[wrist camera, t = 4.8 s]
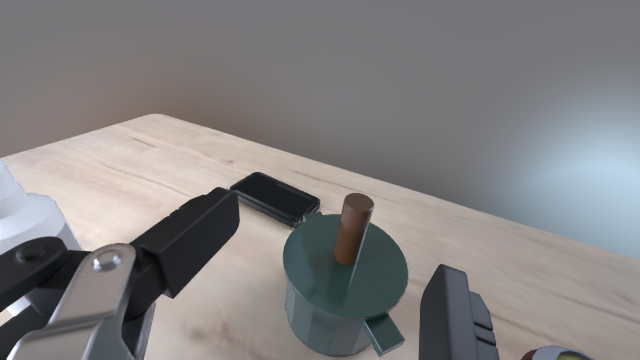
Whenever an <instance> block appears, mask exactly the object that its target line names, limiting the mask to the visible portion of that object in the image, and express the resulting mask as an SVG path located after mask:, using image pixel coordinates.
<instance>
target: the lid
mask: <svg viewBox="0 0 640 360" xmlns="http://www.w3.org/2000/svg"><path fill="white" fill-rule="evenodd" d="M373 208H374V203H373V201H372V199H370V198H369V197H368V196H366V195H363V194H360V193H351V194H349V195H347V196H346V197H345V199H344V204H343V208H342V213H341V215H340V214H330V215H322V216H318V217H314V218H311V219H309V220H307V221H305V222H303V223H302V224H300V225H299V226H298V227H297V228H295V229H294V230H293V232H292V233H291V234H290V235H289V237H288V239H287V241H286V244H285V246H284V251H283V268H284V272H285V276H286V278H287V281H288V283H289V285H290V286H291V288H292V289H293V291H294V292H295V293H296V294H297V296H298V297H299V298H300V299H301V300H302V301H303V302H305V303H306V304H307V305H308V306H310V307H311V308H313V309H314V310H316V311H318V312H320V313H322V314H323V315H326V316H329V317H331V318H334V319H339V320H343V321H366V320H371V319H375V318H378V317H380V316H382V315H384V314H386V313H388V312H389V311H390V310H392V309H393V308H394V307H395V306H396V305H397V304H398V303H399V302H400V300H401V298H402V297H403V295H404V293H405V290H406V287H407V284H408V267H407V263H406V260H405V257H404V255H403V253H402V251H401V249H400V248H399V246H398V245H397V244H396V242H395V241H394V240H393V239H392V238H391V237H390V236H389V235H388V234H387V233H386V232H384V231H383V230H382V229H380V228H379V227H377V226H375V225H374V224H372V223H370V218H371V215H372V212H373Z"/></svg>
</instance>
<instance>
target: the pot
mask: <svg viewBox="0 0 640 360" xmlns="http://www.w3.org/2000/svg"><path fill="white" fill-rule="evenodd" d="M318 216H322V213H321V212H320V211H319V212H314V213H310V214H305V215H303V222H305V221H307V220H309V219H311V218H314V217H318ZM285 310H286V314H287V318H288V321H289V324H290V326H291V328H292V330H293V331H294V333H295V334H296V336H297V337H298V338H299V339H300V340H301V341H302V342H303V343H304V344H305V345H306V346H308V347H309V348H311V349H312V350H314V351H316V352H318V353H321V354H323V355H327V356H333V357H344V356H350V355H353V354H356V353H358V352H360V351H362V350H363V349H365V348H366V347H367V346H368V345H369V344H370V343H372V345H373V347H374V349H375V351H376V352H377V354H378V356H379V357H381V356H382V355H384V354H386V353H388V352H390V351H392V350H394V349H396V348H398V347H400V346H401V345H402V344H403V342H404V341H405V339H404V337H403V336H402V334H401V333H400V331H399V330H398V328H397V327H396V325H395V324H394V322H393V321H392V319H391V318H390V316H389V315H388V313H386V314H384V315H382V316H380V317H378V318H375V319H371V320H366V321H343V320H339V319H334V318H331V317H329V316H326V315H323V314H322V313H320V312H318V311H316V310H314V309H313V308H311V307H310V306H308V305H307V304H306V303H305V302H303V301H302V300H301V299H300V298H299V297H298V296H297V294H296V293H295V292H294V291H293V289H292V288H291V286H290V285H289V283H288V281H287V291H286V304H285Z"/></svg>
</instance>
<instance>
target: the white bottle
mask: <svg viewBox="0 0 640 360" xmlns="http://www.w3.org/2000/svg"><path fill="white" fill-rule="evenodd" d="M46 236H53V237H58V238H60V239H62V240H63V242H64V243H65V245H66V247H67V248H68V250H78V251H84V250H83V248H82V246H81V245H80V243H79V241H78V239H77V238H76V236H75V234H74V232H73V231H72V229H71V227H70V225H69V224H68V222H67V220H66V219H65V217H64V215H63V213H62V212H61V210H60V208H59V206H58V205H57V203H56V201H54V200H53V199H52V198H50V197H49V196H46V195H41V194H36V193H26V192H25V191H24V189H23V188H22V186H21V185H20V183H19V182H17V181H16V179H15V178H14V176H13V175H12V173H11V172H10V170H9V169H8V167H7V165H6V164H5V162H4V161H2V160H1V159H0V255H1V254H3V253H5V252H6V251H8V250H10V249H12V248H14V247H15V246H17V245H19V244H21V243H24V242H26V241H29V240H31V239H35V238H39V237H46ZM29 305H30V303H29V302H28V301H27V299H26V298H25V297H24V296H23V297H21V298H20V299H19V300H17V301H16V302H14V303H13V304H12V305H10V306H9V307H7V308H6V309H7V310H8V311H9V312H10V313H11V314H12V315H13V316H15V315H17V314H18V313H19V312H21V311H22V310H24V309H25V308H26V307H28V306H29Z"/></svg>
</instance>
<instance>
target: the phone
mask: <svg viewBox="0 0 640 360" xmlns="http://www.w3.org/2000/svg"><path fill="white" fill-rule="evenodd" d="M230 191H233V192H236V193H237V195H238V200H240V201H242V202H244V203H246V204H248V205H250V206H252V207H254V208H256V209H258V210H260V211H261V212H263V213H265V214H267V215H269V216H271V217H273V218H275V219H277V220H279V221H281V222H283V223H285V224H287V225H289V226H291V227H293V228H297V227H298V226H299V225H300V224H302V223H303V215H305V214H310V213H314V212H316V211H317V210H318V209H319V207H320V199H319V198H317V197H315V196H312V195H310V194H308V193H306V192H303V191H301V190H299V189H297V188H294V187H292V186H290V185H288V184H285V183H283V182H281V181H279V180H276V179H274V178H272V177H270V176H268V175H265V174H263V173H261V172H255V173H252V174H251V175H249V176H247V177H246V178H244V179H242V180H241V181H239V182H237V183H236V184H234V185H232V186H231V187H230Z"/></svg>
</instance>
